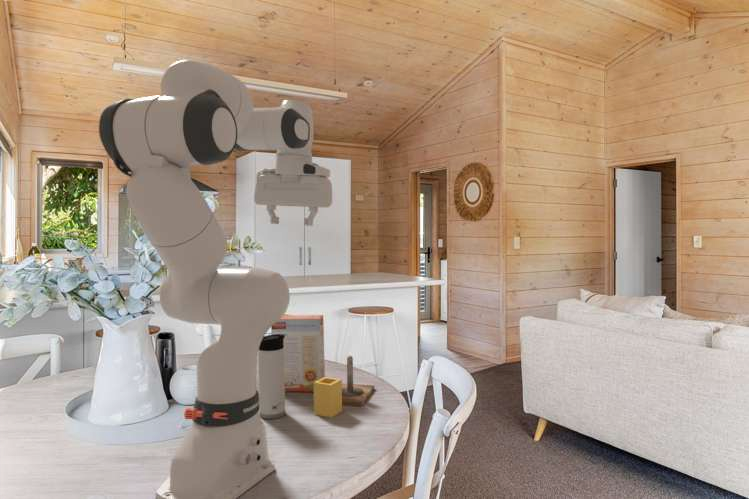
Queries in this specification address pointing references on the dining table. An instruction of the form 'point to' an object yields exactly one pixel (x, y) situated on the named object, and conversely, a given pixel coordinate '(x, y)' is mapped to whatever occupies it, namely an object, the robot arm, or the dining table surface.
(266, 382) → the travel mug
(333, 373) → the dining table surface
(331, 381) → the collar
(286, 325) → the cracker box
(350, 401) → the post board
